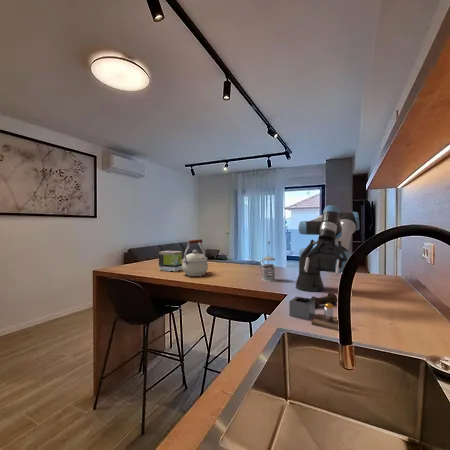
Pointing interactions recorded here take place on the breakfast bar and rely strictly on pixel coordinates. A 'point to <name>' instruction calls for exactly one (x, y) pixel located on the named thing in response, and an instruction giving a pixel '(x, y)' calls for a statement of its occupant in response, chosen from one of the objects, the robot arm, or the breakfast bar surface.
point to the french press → (268, 270)
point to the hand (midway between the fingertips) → (320, 272)
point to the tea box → (170, 260)
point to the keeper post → (328, 312)
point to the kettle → (195, 261)
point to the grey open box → (302, 308)
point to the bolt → (325, 300)
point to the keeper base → (321, 322)
